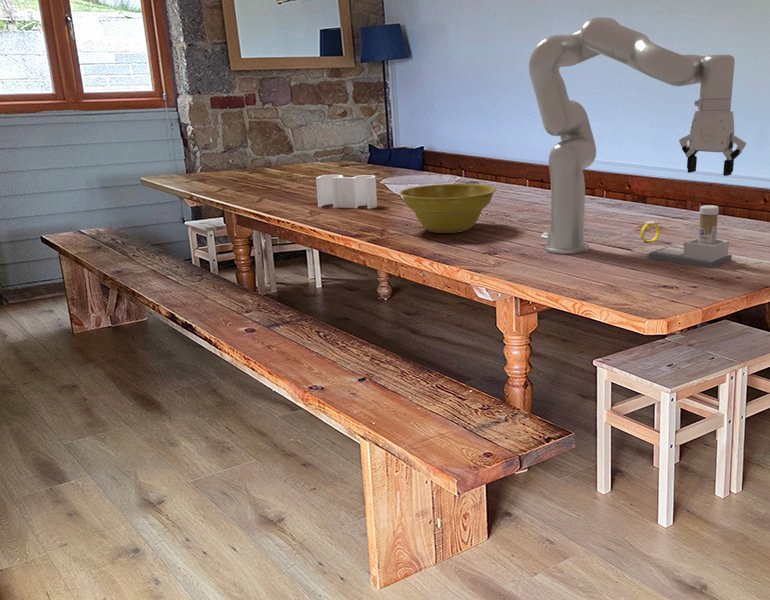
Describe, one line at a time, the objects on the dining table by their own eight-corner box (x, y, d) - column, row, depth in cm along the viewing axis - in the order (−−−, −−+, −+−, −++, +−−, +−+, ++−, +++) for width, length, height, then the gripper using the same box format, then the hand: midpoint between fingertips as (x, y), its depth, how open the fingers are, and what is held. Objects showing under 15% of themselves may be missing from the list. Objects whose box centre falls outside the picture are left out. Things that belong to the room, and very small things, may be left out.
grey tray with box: (648, 258, 223) (649, 238, 222) (669, 251, 230) (670, 232, 229) (711, 268, 210) (712, 247, 209) (731, 260, 217) (732, 240, 216)
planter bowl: (428, 218, 296) (427, 181, 292) (511, 223, 279) (511, 184, 276) (383, 236, 269) (381, 195, 266) (471, 242, 253) (470, 199, 249)
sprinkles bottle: (693, 256, 217) (696, 206, 213) (703, 253, 219) (706, 204, 216) (709, 259, 213) (712, 208, 209) (718, 256, 216) (722, 206, 212)
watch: (644, 244, 241) (644, 224, 239) (638, 242, 244) (638, 223, 242) (661, 240, 243) (661, 221, 241) (655, 238, 245) (655, 219, 244)
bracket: (381, 205, 328) (379, 175, 325) (370, 209, 320) (369, 178, 317) (327, 203, 339) (325, 174, 335) (315, 207, 330) (313, 177, 327)
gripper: (675, 105, 210) (670, 172, 215) (741, 107, 197) (734, 178, 202) (690, 104, 214) (685, 169, 219) (755, 105, 202) (748, 174, 207)
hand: (709, 173), depth 211 cm, fingers open, 9 cm apart
